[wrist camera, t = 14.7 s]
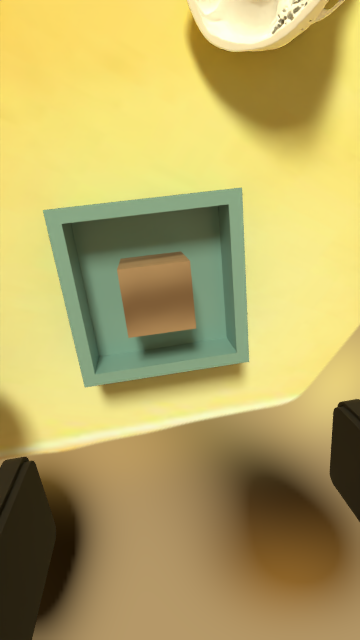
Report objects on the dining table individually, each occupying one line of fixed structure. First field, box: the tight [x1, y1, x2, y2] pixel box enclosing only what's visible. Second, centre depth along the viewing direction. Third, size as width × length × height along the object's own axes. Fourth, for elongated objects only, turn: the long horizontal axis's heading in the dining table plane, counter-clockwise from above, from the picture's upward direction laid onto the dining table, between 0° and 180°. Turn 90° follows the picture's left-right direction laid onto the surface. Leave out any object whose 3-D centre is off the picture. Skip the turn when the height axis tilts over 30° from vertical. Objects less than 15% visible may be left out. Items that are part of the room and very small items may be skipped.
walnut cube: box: [117, 251, 196, 338], centre depth 31 cm, size 6×6×6 cm
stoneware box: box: [43, 188, 249, 387], centre depth 32 cm, size 16×16×5 cm
